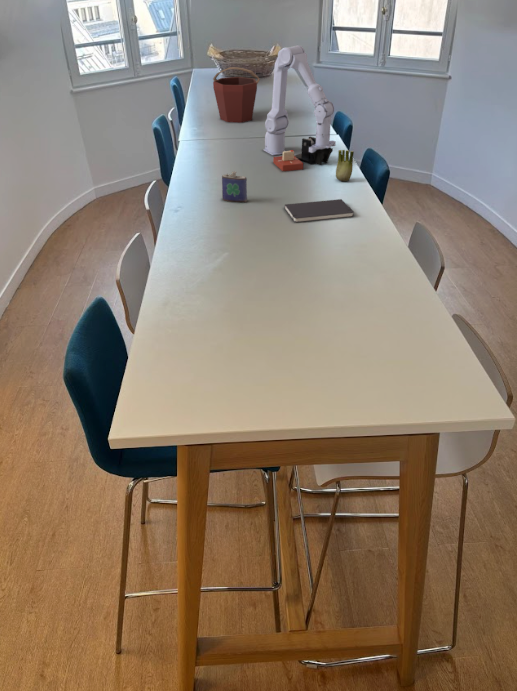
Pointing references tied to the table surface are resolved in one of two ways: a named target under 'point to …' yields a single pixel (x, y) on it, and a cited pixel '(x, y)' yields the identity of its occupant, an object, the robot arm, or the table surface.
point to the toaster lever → (313, 144)
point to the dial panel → (288, 164)
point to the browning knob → (288, 155)
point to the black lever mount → (306, 151)
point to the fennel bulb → (344, 165)
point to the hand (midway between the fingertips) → (321, 166)
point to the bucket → (235, 96)
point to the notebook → (318, 210)
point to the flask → (234, 188)
